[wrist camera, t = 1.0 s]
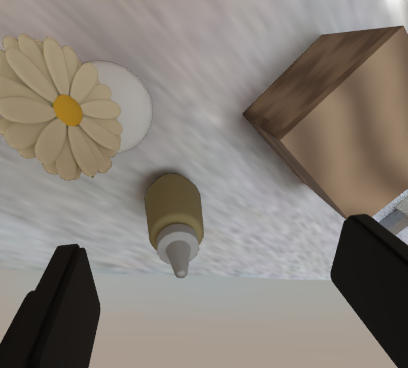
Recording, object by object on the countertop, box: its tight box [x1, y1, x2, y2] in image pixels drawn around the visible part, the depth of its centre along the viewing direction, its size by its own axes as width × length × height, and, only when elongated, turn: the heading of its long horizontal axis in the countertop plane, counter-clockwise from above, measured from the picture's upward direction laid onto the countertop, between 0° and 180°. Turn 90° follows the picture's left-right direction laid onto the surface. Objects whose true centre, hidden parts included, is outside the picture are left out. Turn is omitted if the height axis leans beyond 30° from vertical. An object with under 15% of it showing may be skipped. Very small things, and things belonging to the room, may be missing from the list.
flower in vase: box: [0, 34, 153, 181], centre depth 24 cm, size 13×11×25 cm
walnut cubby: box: [243, 26, 408, 220], centre depth 35 cm, size 14×17×13 cm
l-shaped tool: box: [379, 197, 408, 235], centre depth 48 cm, size 18×4×10 cm, turn 134°
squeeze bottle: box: [144, 173, 204, 278], centre depth 34 cm, size 8×8×18 cm
